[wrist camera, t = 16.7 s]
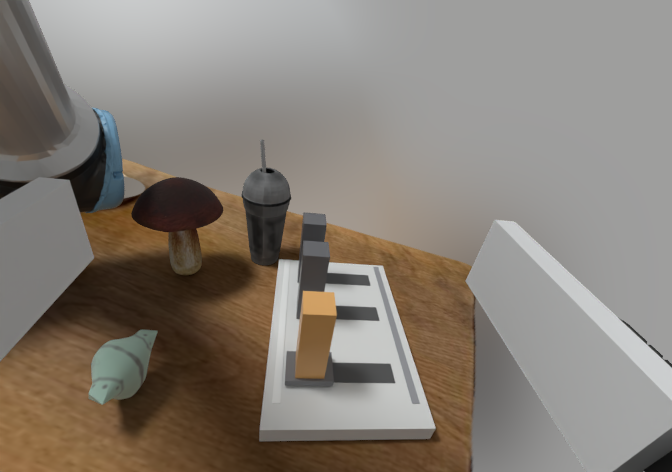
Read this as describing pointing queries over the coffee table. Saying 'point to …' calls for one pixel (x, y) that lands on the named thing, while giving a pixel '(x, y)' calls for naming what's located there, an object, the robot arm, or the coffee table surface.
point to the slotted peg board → (342, 355)
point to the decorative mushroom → (179, 218)
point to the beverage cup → (265, 211)
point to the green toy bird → (121, 367)
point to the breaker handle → (313, 342)
